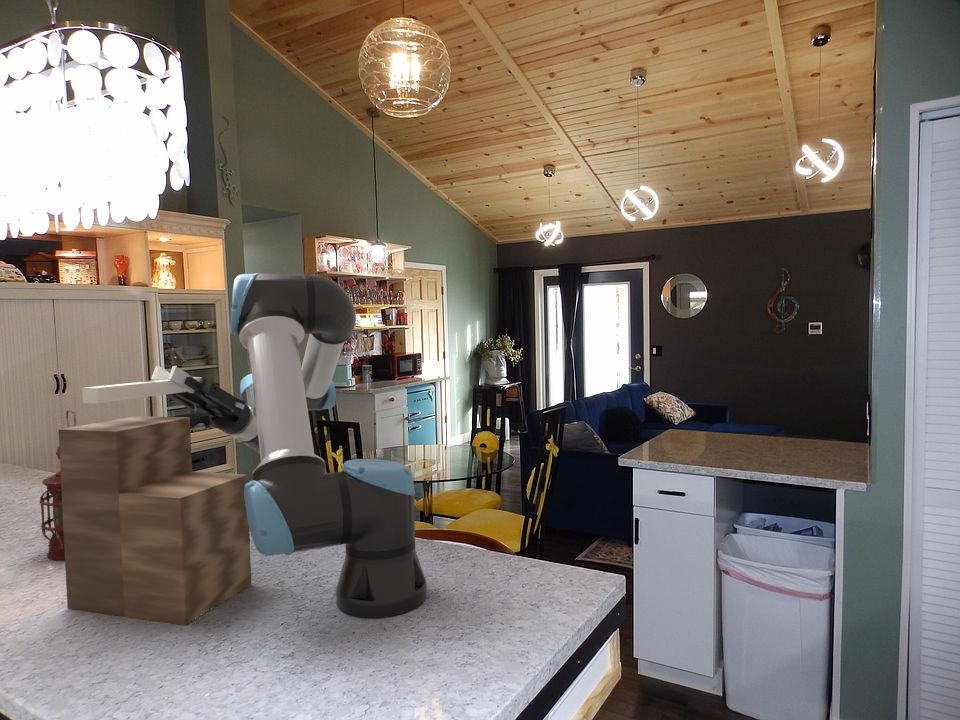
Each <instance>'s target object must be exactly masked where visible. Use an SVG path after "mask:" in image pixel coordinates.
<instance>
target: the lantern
mask: <svg viewBox="0 0 960 720" xmlns="http://www.w3.org/2000/svg"><path fill="white" fill-rule="evenodd" d="M69 413H71V414H72V415H73V427H76V426H77V416H76V412H75V411H73V410H72V409H67V410H66V412H65V420H66V428H70V422H69ZM55 454H56V456H57V458H58V460H60V452H59V445H58V446H57V451H56V453H55ZM41 484H43V485H44V486H45V487H46V491H44V492H43V493H42V494H41V495H40V499H39V504H40V510H41V512H40V513H41V525H40V527H41V532H42V536H43V537H44V538H45V539H46V540H48V553H47V558H48V559H50V560H52V561H65V549H64V530H63V511H62V491H61V472H60V471H57V472H56V473H55V474H52V475H50V476H49V477H46V478H44V479H42V483H41ZM45 494H46V496H45ZM51 498H52V502H50V499H51ZM45 506H46V508H47V520H45V511H44V507H45ZM50 507H52V518H51V511H50ZM52 522H53V527H52ZM46 525H47V526H46ZM46 531H49V532H50V533H51V538H49V537H48V536H47V534H46Z"/></svg>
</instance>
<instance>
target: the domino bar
mask: <svg viewBox="0 0 960 720" xmlns="http://www.w3.org/2000/svg"><path fill="white" fill-rule="evenodd" d="M192 377H193V378H195V379H196V380H198V382H200V379H201V378H203V377H199V376H197V377H196V376H192ZM81 392H82V393H81V394H82V404H103V403H111V402H117V401H127V400H133V399H142V398H143V399H144V398H149V397H155V396H164V395H167V394H174V393H181V392H188V391H186V390H185V389H183V388H181V387H180V386H178V385H177V384H175V383H174V382H172V381H170V380H169V379H166V380H156V381H154V380H148V381H147V380H146V381H139V382H138V381H137V382H129V383H128V382H127V383H116V384H108V385H97V386H89V387H81Z"/></svg>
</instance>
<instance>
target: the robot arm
mask: <svg viewBox="0 0 960 720" xmlns="http://www.w3.org/2000/svg"><path fill="white" fill-rule="evenodd" d="M356 322H357V314H356V309H355V306H354V303H353V301H352V299H351V297H350V295H349V294H348V293H347V292H346V290H345V289H344V288H343V287H342V286H341V285H340V284H338V283H337V282H336V281H334V280H333V279H331V278H329V277H326V276H324V275H319V274H311V273H310V274H291V273H290V274H288V273H287V274H286V273H285V274H283V273H260V272H254V273H242V274H238V275H237V276H236V277H235V278H234V282H233V287H232V298H231V311H230V323H229V326H230V327H229V332H230V334H231V335H233V336H235V337H239V342H240V344H241V345H242V346H243V348H244V349H247V351H249V358H250V360H249V361H250V368H251V370H250V371H251V373H250V374H246V376H244V377H243V378H242V379H241V381H240V384H239V385H240V390H239V391H240V395H239V396H240V397H239V398H238V397H236V396H234V395H232V394H231V393H229V392H228V391H226V390H225V389H223V388H221V387H220V386H218V385H216V384H215V383H213V382H211V383H210V382H209V383H208V384H207V383H206V382H207V379H206V378H203V377H202V378H201V379H200V382H198V380H196V379H195V378H193V377H194V376H192V375H190V374H188V373H187V372H186V371H184V370H183V369H181V368H179V367H178V366H177V365H173V366H172V367H171V370H170V372H169V371H168V370H166V369H165V368H163V367H162V366H159V365H155V368H154V370H153V372H152V375H151V378H150V380H151V381H156V380H166V379H169V380H170V381H172V382H174V383H175V384H177V385H178V386H180V387H181V388H183V389H185V390H186V391H188V392H181V393H174V394H166V395H167V396H168V397H170V398H171V399H173V400H174V401H175V402H177V403H179V404H180V405H181V406H184V408H186V409H187V410H188V411H189V412H190V413H195V412H196V411H197V410H199V412H203V414H205V415H206V416H208V417H210V418H211V422H212V424H213V425H214V428H216V429H218V430H220V431H222V432H223V433H225V434H227V435H229V436H230V437H232V438H234V439H235V440H236V442H237V443H242V444H244V445H246V447H249V448H251V449H252V450H253V451H254V452H256V453H258V454H259V457H260V463H259V464H258V465H257V466H256V467H255V469H253V471H252V475H251V477H252V480H250V481H249V482H248V483H246V484H245V486H244V501H245V506H246V514H247V520H248V524H249V532H250V536H251V539H252V541H253V544H254V546H255V549H256V550H257V551H258V552H259V553H260V554H261V555H263V556H268V557H269V556H278V555H292V554H295V553H298V552H305V551H312V550H318V549H323V548H329V547H335V546H342V545H345V558H344V561H343V564H342V568H341V571H340V575H339V577H338V578H339V579H338V581H337V584H336V588H335V589H336V590H335V601H336V605H337V608H338V609H339V610H340V611H341V612H343V613H345V614H349V615H351V616H355V617H362V618H386V617H391V616H397V615H400V614H404V613H407V612H409V611H413V610H414V609H416V608H418V607H420V606H421V605H422V604H423V603H424V602H425V601H426V599H427V593H428V590H427V589H428V587H427V580H426V576H425V573H424V570H423V569H422V565H421V563H420V562H421V561H420V559H419V557H418V555H417V551H416V530H415V529H416V522H415V519H416V518H415V495H416V491H415V483H414V475H413V472H412V469H410V467H408V466H407V465H406V464H402V463H400V462H397V461H392V460H386V459H375V458H355V459H351V460H350V459H349V460H346V461H344V462H343V465H342V467H341V470H342V471H336V472H327V467H326V466H327V465H326V461H325V460H324V459H323V458H322V457H320V455H317V454H315V451H314V442H313V436H312V429H311V423H310V415H309V411H321V410H328V409H332V408H333V407H334V406H335V405H336V396H337V394H336V393H337V392H336V385H335V383H334V381H333V377H334V374H335V371H336V367H337V365H338V362H339V360H340V359H339V358H340V356H341V354H342V351H343V348H344V345H345V343H346V342H347V341H349V339H350V338H351V337H353V333H354V330H355V328H356ZM305 334H307V335H308V334H309V335H308V340H307V344H306V347H305V351H304V352H305V353H304V356H303V360H302V363H301V358H300V350H299V345H300V344H301V342H302V341H303V340H304V339H305Z"/></svg>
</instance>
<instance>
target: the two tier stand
mask: <svg viewBox="0 0 960 720" xmlns="http://www.w3.org/2000/svg"><path fill="white" fill-rule="evenodd" d="M57 431H58V446H59V452H60V459H59V466H60V467H59V468H60V471H59V472H61V491H62V511H63V530H64V549H65V560H64V563H65V565H64V566H65V586H66V587H65V588H66V604H67V605H66V606H67V609H72V610H76V611H77V610H79V611H85V612H90V611H91V612H92V613H97V612H99V614H104V613H106V614H105V615H112V616H118V617H119V616H120V617H125V618H132V619H139V620H145V621H153V622H161V623H167V624H173V625H180V624H184V625H183V626H187V625H188V624H187V623H189V622H190V623H192V622H193V621H195V620H196V619H195V618H197V617H198V616H200V615H201V614H203V613H205V612H206V613H208V612H209V611H208V610H210V609H211V608H213V607H214V608H216V607H217V606H216V605H218V604H219V605H221V604H222V603H224V602H225V600H226V601H227V600H228V598H229V599H231V598H232V597H233V595H234V596H235V595H237V594H238V592H239V591H240V592H242V591H244V590H245V589H247V588H249V587H250V586H251V585H252V565H251V564H252V563H251V562H252V561H251V560H252V559H251V542H250V541H251V539H250V536H251V533H250V529H249V524H248V520H247V514H246V506H245V501H244V486H245V484H246V483H248V481H249V479H248V474H244V473H243V474H242V473H241V474H240V473H225V472H223V473H222V472H208V471H207V472H206V471H194V470H193V466H192V465H193V463H192V462H193V461H192V440H191V439H192V437H191V435H192V434H191V417H186V416H185V417H184V416H183V417H180V416H149V415H147V416H146V415H138V416H137V415H136V416H131V417H130V416H129V417H124V418H119V419H118V418H117V419H113V420H108V421H102V422H101V421H100V422H95V423H89V424H83V425H76V427H74V426H69V428H67V427H65V428H58V430H57ZM246 587H247V588H246ZM241 590H242V591H241ZM240 592H239V593H240ZM230 597H231V598H230ZM223 601H224V602H223ZM221 602H222V603H221ZM220 603H221V604H220ZM219 605H218V606H219ZM215 606H216V607H215ZM214 608H213V609H214ZM211 610H212V609H211ZM211 610H210V611H211ZM207 611H208V612H207ZM206 613H205V614H206ZM203 615H204V614H203ZM200 617H201V616H200ZM198 618H199V617H198ZM198 618H197V619H198ZM194 619H195V620H194ZM191 621H192V622H191ZM190 623H189V624H190ZM186 624H187V625H186Z"/></svg>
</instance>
